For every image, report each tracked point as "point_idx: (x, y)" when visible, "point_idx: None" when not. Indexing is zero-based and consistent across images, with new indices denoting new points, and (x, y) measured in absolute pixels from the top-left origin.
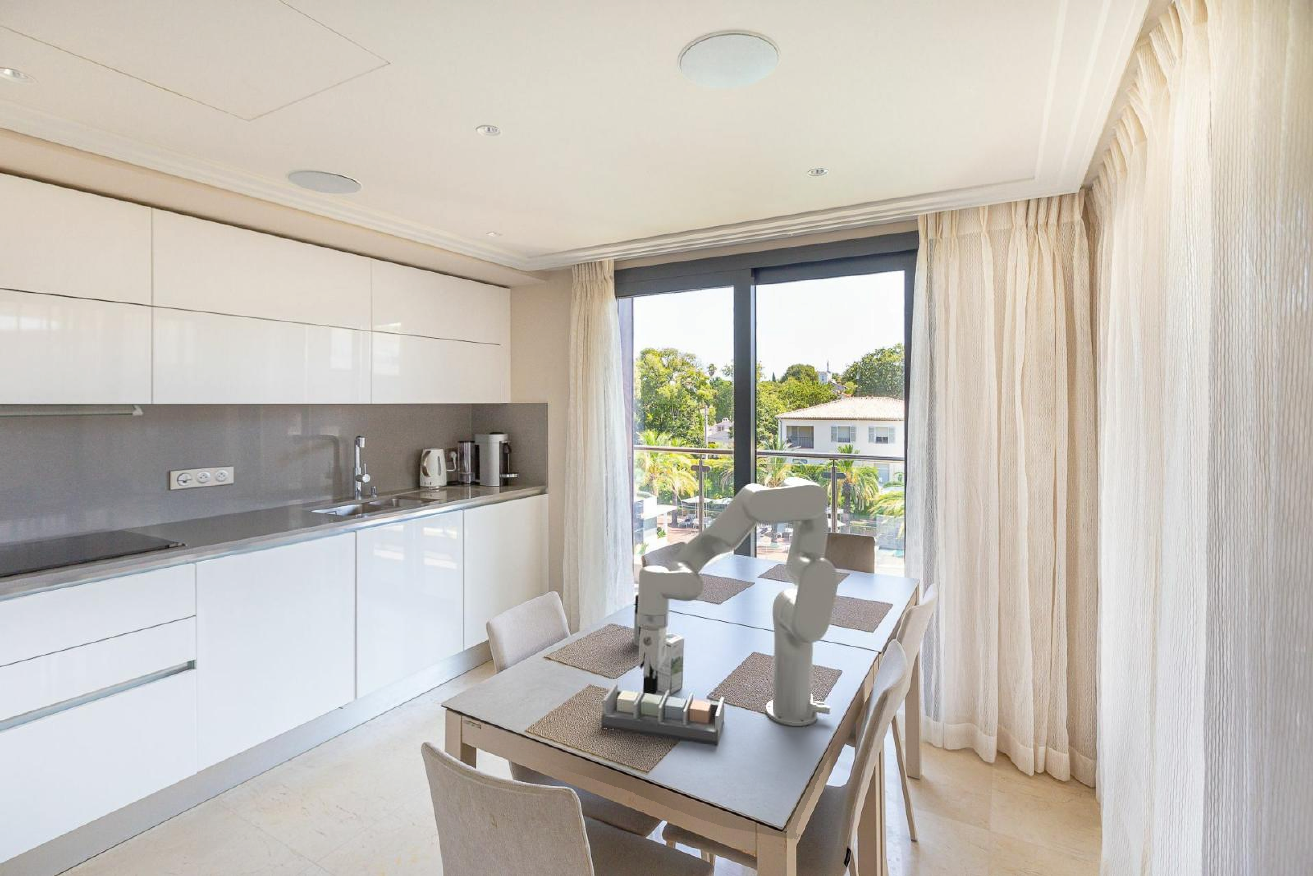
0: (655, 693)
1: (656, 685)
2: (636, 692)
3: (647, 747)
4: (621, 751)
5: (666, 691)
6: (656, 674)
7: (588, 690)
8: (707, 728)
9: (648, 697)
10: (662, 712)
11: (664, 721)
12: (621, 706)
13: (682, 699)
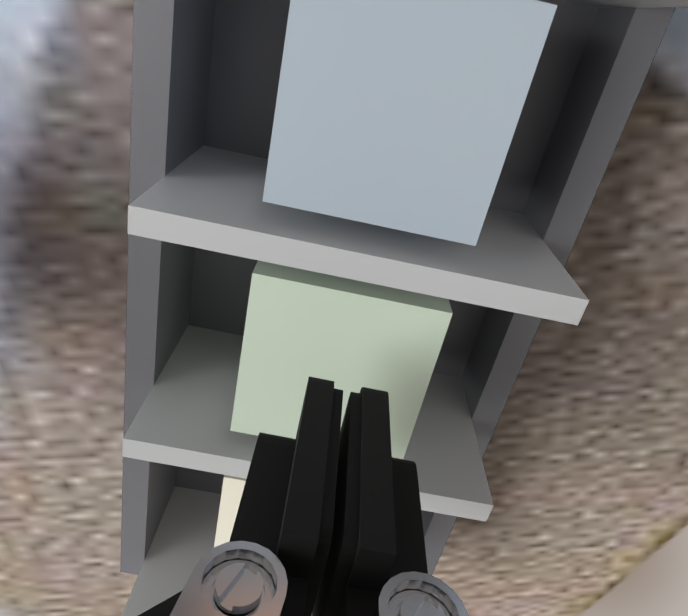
0: (385, 396)
1: (375, 456)
2: (222, 496)
3: (661, 285)
4: (675, 424)
5: (170, 240)
6: (282, 575)
7: (14, 595)
8: None
9: None
10: (480, 244)
11: None
12: None
13: (317, 15)
